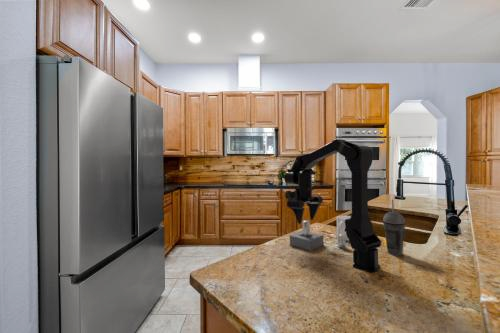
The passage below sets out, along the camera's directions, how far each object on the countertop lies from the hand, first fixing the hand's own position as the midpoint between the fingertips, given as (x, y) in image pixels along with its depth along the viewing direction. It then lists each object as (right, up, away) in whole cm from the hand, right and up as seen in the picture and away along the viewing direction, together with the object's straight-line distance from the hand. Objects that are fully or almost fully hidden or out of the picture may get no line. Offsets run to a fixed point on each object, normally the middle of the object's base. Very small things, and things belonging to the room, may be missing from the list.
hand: (305, 221), depth 97 cm
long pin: (0, -10, 0) cm, 10 cm away
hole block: (0, -10, 0) cm, 10 cm away
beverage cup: (+30, -9, -12) cm, 34 cm away
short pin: (+14, -9, -4) cm, 17 cm away
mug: (+20, -10, +7) cm, 23 cm away
